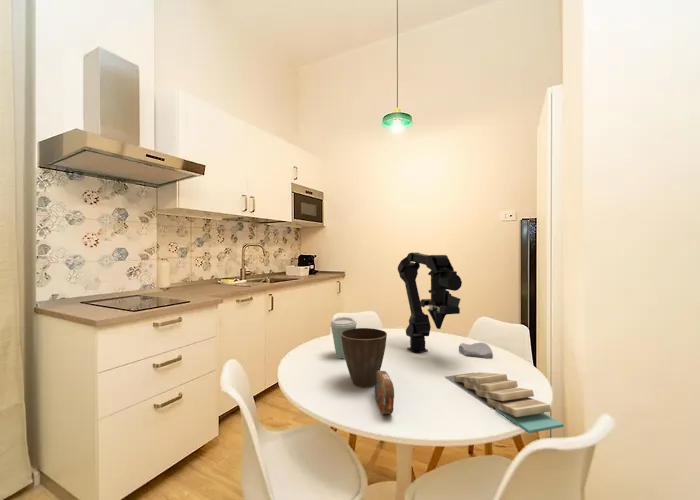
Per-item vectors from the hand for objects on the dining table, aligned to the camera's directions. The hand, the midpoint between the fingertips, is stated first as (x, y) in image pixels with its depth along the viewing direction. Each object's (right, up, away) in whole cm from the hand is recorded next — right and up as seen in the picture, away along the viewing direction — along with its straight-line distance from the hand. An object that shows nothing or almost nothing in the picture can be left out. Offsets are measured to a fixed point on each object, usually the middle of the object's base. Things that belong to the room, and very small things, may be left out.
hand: (438, 328), depth 119 cm
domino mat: (+6, -13, -23) cm, 27 cm away
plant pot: (-29, -13, -18) cm, 37 cm away
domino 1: (+5, -12, -17) cm, 21 cm away
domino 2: (+6, -12, -21) cm, 25 cm away
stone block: (+18, -14, +10) cm, 25 cm away
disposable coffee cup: (-36, -13, +8) cm, 39 cm away
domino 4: (+9, -12, -32) cm, 35 cm away
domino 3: (+8, -12, -27) cm, 30 cm away
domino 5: (+10, -13, -35) cm, 38 cm away
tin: (-25, -13, -33) cm, 43 cm away
